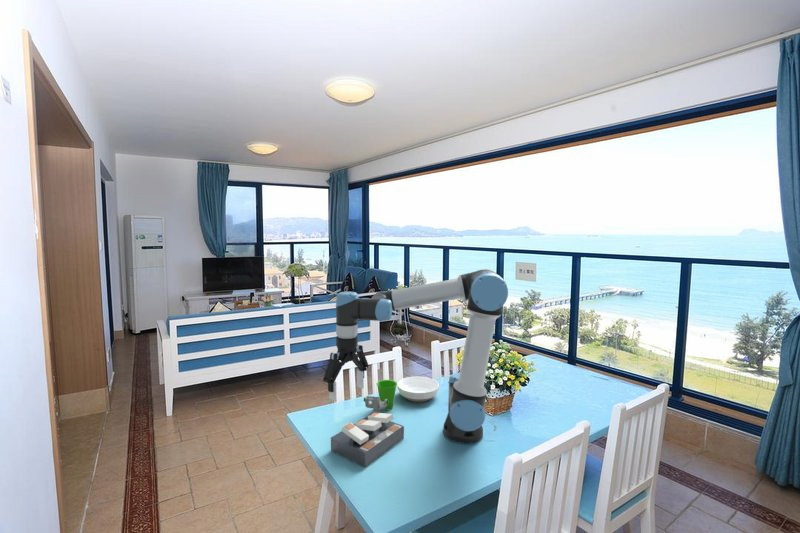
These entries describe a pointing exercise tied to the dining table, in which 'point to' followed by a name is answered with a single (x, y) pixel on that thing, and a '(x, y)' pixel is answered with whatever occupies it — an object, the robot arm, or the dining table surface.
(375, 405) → the mechanical component
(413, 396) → the bowl
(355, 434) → the block
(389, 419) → the block
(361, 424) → the rocker
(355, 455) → the console
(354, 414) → the dining table surface
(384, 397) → the cup
